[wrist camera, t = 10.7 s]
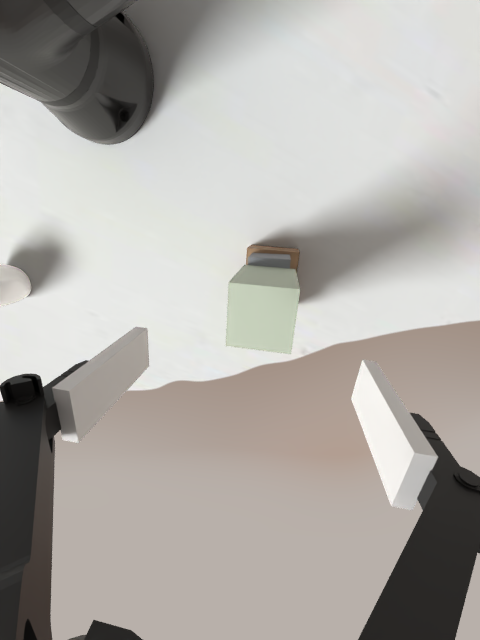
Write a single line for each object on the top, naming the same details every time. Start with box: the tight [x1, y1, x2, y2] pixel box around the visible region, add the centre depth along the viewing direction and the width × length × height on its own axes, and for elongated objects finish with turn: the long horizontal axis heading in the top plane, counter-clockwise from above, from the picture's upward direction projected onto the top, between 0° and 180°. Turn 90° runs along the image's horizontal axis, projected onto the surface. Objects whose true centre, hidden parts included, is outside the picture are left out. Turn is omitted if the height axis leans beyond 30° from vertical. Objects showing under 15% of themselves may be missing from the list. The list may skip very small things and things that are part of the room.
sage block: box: [226, 265, 300, 354], centre depth 28 cm, size 6×6×10 cm
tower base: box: [246, 245, 300, 274], centre depth 40 cm, size 9×7×5 cm
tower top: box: [248, 253, 291, 269], centre depth 35 cm, size 8×5×5 cm, turn 179°
